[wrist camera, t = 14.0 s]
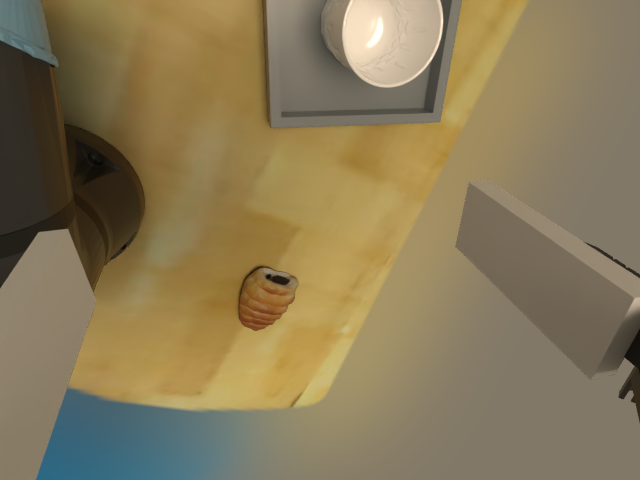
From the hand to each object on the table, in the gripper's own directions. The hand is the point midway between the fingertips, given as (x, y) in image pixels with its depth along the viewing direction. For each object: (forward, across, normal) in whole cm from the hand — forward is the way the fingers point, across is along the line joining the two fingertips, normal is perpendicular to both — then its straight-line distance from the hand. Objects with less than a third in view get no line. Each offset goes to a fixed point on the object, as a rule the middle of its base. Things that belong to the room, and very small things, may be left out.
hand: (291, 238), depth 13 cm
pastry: (+31, +1, -27) cm, 41 cm away
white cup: (+29, +12, +5) cm, 32 cm away
